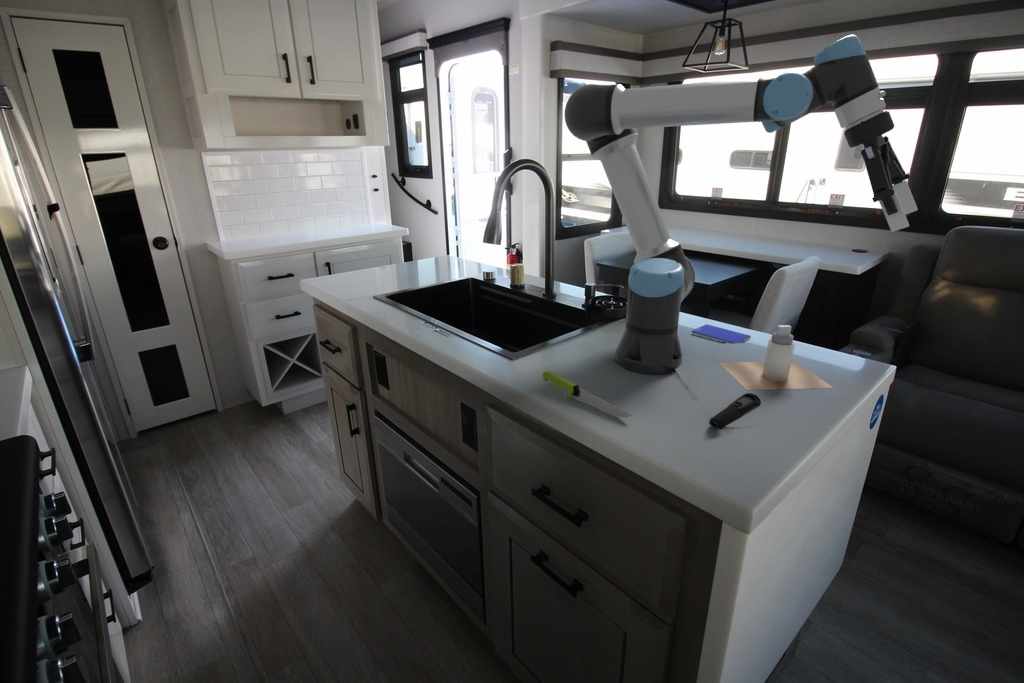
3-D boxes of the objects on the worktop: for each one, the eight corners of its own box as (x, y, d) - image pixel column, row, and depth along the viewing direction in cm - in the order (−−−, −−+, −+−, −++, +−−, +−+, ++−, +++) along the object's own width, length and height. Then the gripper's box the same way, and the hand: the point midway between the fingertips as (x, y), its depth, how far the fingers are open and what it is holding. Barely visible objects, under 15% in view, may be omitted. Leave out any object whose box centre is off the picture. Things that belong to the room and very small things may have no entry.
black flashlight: (701, 429, 92) (703, 413, 91) (743, 401, 102) (746, 387, 100) (721, 437, 90) (723, 421, 88) (762, 408, 99) (765, 394, 98)
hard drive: (691, 330, 137) (736, 342, 129) (707, 323, 142) (751, 334, 134) (691, 335, 138) (735, 348, 129) (706, 328, 143) (750, 340, 134)
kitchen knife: (632, 426, 95) (634, 413, 93) (628, 429, 94) (630, 415, 93) (545, 381, 109) (546, 369, 108) (541, 383, 108) (542, 370, 107)
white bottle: (769, 381, 107) (778, 330, 103) (757, 372, 112) (766, 322, 108) (792, 381, 107) (803, 329, 103) (780, 371, 112) (789, 322, 108)
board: (745, 394, 104) (746, 389, 104) (717, 366, 117) (718, 362, 117) (832, 392, 104) (833, 387, 104) (794, 365, 117) (795, 361, 117)
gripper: (876, 114, 87) (921, 228, 89) (897, 103, 103) (934, 199, 105) (828, 138, 93) (872, 244, 95) (855, 123, 109) (892, 214, 111)
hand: (905, 220), depth 100 cm, fingers open, 13 cm apart
